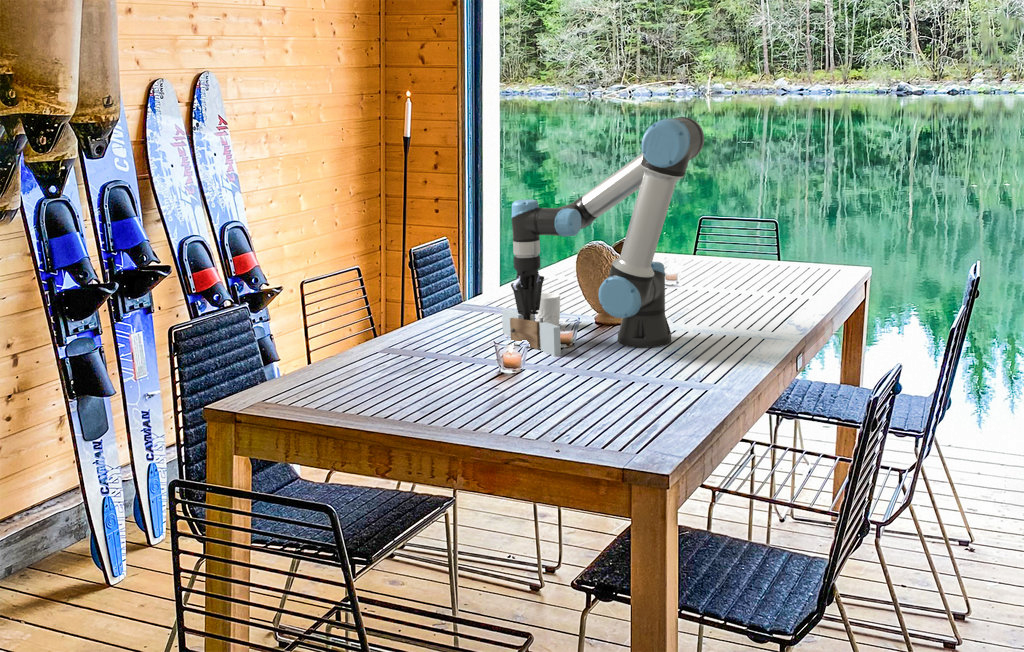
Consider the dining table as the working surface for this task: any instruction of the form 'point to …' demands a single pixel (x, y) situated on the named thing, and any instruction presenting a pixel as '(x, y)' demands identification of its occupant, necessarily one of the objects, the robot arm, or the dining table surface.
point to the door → (525, 331)
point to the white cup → (549, 308)
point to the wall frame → (547, 332)
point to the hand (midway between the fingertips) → (529, 336)
